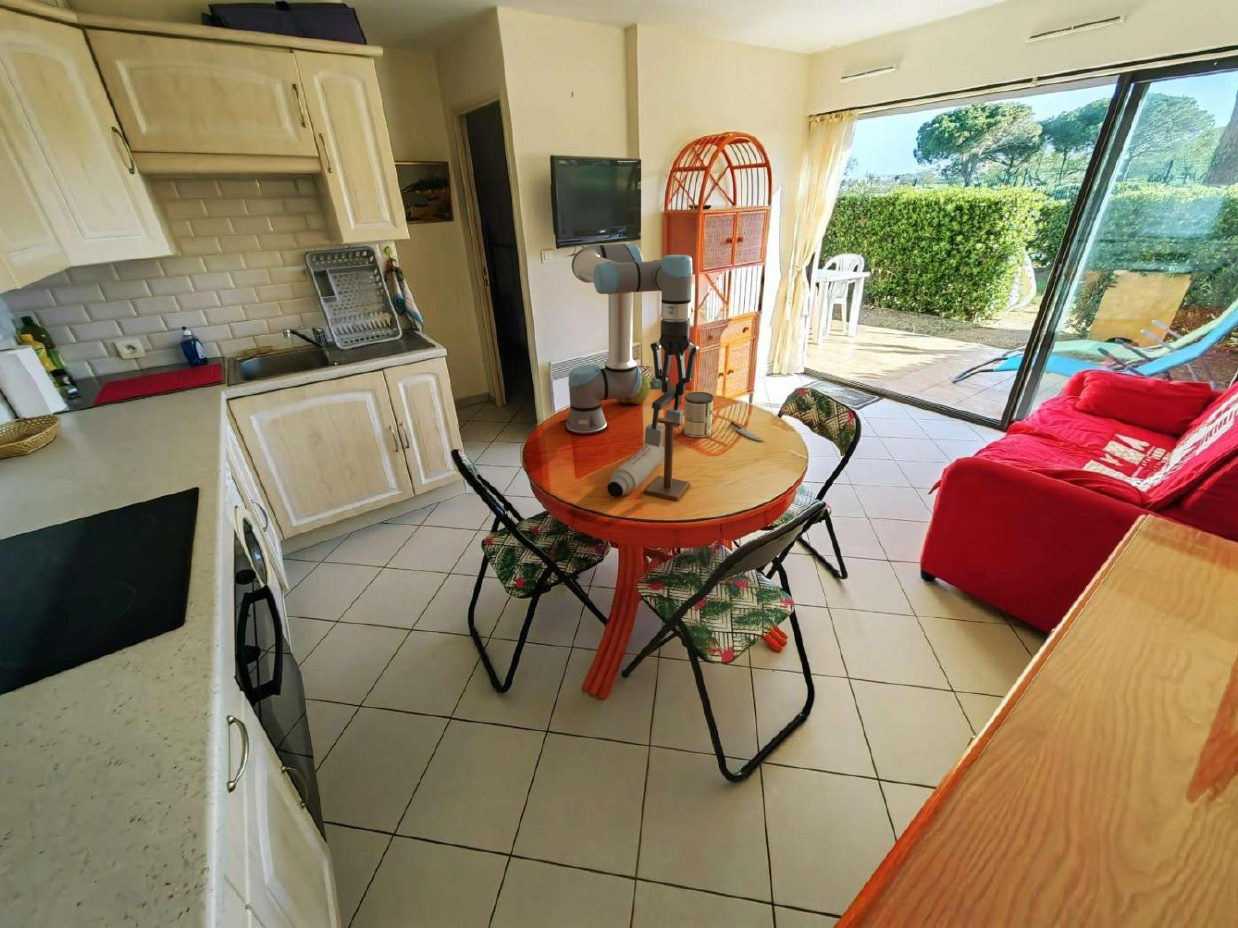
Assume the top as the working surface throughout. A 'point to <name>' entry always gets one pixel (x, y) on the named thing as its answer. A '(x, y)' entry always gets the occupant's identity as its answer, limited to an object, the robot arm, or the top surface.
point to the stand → (668, 468)
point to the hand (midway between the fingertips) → (672, 404)
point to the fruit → (642, 393)
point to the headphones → (656, 433)
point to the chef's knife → (746, 432)
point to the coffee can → (698, 414)
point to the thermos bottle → (635, 470)
